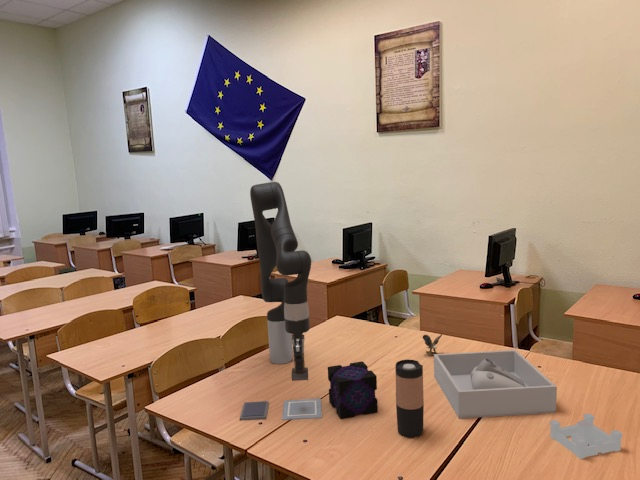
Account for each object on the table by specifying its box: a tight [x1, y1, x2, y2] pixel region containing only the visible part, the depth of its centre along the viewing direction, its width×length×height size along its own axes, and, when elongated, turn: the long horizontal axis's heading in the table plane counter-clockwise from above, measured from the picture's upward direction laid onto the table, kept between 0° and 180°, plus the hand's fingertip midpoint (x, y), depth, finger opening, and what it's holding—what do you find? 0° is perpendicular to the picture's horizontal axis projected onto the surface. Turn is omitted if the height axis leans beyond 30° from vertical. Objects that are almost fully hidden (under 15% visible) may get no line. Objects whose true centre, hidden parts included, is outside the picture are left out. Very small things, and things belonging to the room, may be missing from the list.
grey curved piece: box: [471, 358, 527, 390], centre depth 158 cm, size 16×17×11 cm
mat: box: [281, 398, 323, 421], centre depth 154 cm, size 12×12×1 cm
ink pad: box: [239, 400, 270, 421], centre depth 154 cm, size 10×8×1 cm
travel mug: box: [394, 359, 425, 439], centre depth 137 cm, size 8×8×20 cm
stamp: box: [291, 352, 309, 382], centre depth 152 cm, size 5×5×8 cm
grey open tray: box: [433, 349, 558, 419], centre depth 158 cm, size 29×29×8 cm
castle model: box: [549, 412, 623, 460], centre depth 127 cm, size 15×15×7 cm
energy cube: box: [327, 361, 379, 420], centre depth 154 cm, size 12×12×12 cm
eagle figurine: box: [422, 333, 443, 357], centre depth 193 cm, size 8×7×9 cm
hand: (299, 368), depth 152 cm, fingers closed on stamp, 3 cm apart
